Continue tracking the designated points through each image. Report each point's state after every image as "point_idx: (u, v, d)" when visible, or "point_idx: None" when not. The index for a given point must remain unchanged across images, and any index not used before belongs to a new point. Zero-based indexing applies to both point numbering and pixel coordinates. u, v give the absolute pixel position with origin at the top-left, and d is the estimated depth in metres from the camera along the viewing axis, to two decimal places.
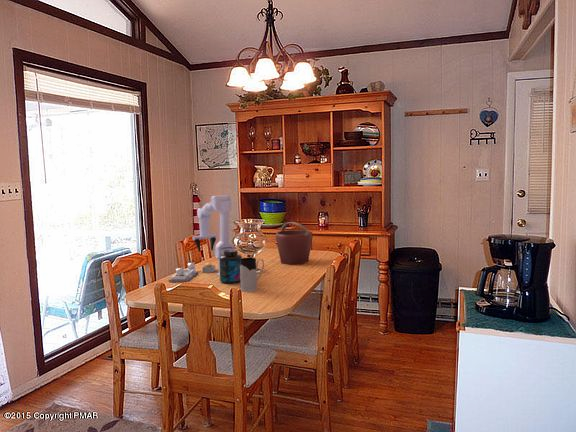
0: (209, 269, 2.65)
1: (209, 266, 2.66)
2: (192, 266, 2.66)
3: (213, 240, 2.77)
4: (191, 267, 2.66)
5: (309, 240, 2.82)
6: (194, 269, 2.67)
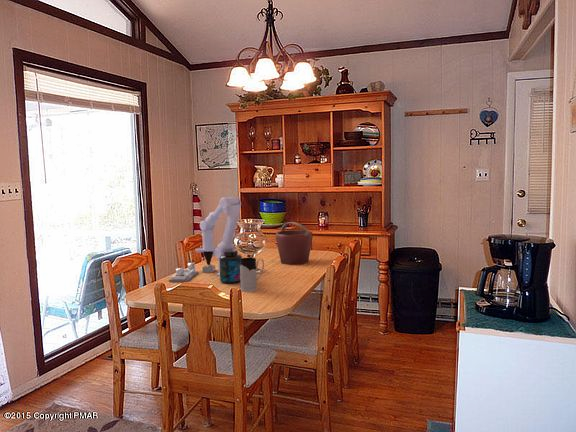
0: (209, 269, 2.65)
1: None
2: (192, 266, 2.66)
3: (208, 254, 2.64)
4: (191, 267, 2.66)
5: (309, 240, 2.82)
6: (194, 269, 2.67)
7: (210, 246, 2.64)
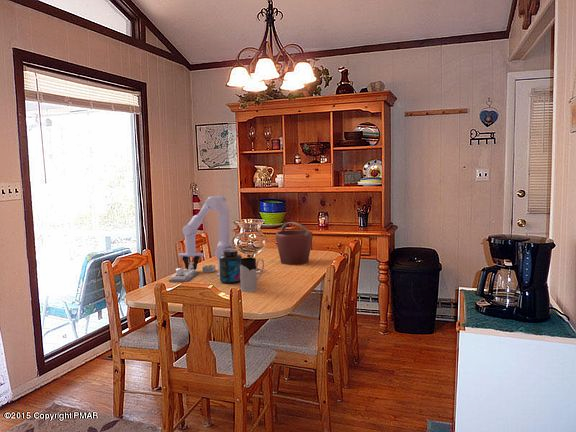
0: (209, 269, 2.65)
1: None
2: (192, 266, 2.66)
3: (194, 259, 2.64)
4: (191, 267, 2.66)
5: (309, 240, 2.82)
6: None
7: (193, 251, 2.65)
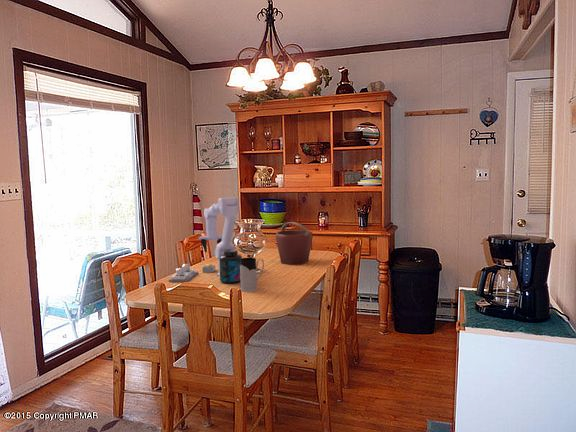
0: (209, 269, 2.65)
1: None
2: (187, 268, 2.56)
3: (218, 242, 2.68)
4: (186, 268, 2.56)
5: (309, 240, 2.82)
6: (189, 270, 2.58)
7: (214, 234, 2.68)
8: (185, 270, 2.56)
